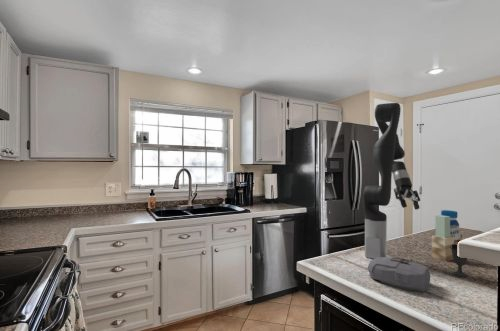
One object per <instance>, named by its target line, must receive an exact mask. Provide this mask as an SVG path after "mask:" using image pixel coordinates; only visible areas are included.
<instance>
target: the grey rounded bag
mask: <svg viewBox="0 0 500 331" xmlns="http://www.w3.org/2000/svg"><path fill="white" fill-rule="evenodd" d="M367 270H368V273H369V277H370V278H372V279H373V280H376V281H379V282H381V283H382V284H385V285H389V286H392V287H395V288H399V289H404V290H408V291H414V292H422V293H424V292H426V291H427V290H428V288H429V286H430V284H431V283H430V282H431V272H430V269H429V267H428V266H426V265H423V264H420V263H417V262H414V261H412V260H408V259H406V258H399V257H392V256H386V257H379V258H376V259H372V260H370V261H369V263H368V264H367Z"/></svg>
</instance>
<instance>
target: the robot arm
mask: <svg viewBox="0 0 500 331" xmlns="http://www.w3.org/2000/svg"><path fill="white" fill-rule="evenodd" d="M400 117H401V105H400V103H398V102H387V103H379V104H376V106H375V109H374V119H375V122H376V124H377V126H378V129H379V131H380V133H381V136H380V137H379V139H378V140H377V141H376V142H375V143H374V146H373V151H372V161H373V163H374V166H375V167H376V169H377V171H378V172H379V175H380V185H377V184H376V185H374V184H372V185H371V184H368V185H366V186H365V187H364V188H363V189H364V190H363V194H362V199H363V200H362V201H363V214H364V256H365V257H366V258H368V259H372V260H374V259H376V258H379V257H388V256H387V251H388V250H387V249H388V248H387V247H388V246H387V239H388V238H387V235H388V234H387V230H388V229H387V228H388V227H387V225H388V222H387V218H388V217H387V214H386V213H385V212H382V211H381V210H379V209H378V208H377V207H376V206H382V207H386V206H388V205H389V203H390V201H391V199H392V198H391V196H392V177H393V180H394V181H393V182H394V184H395V185H394V186H395V188H394V189H393V192H394V195H395V199H396V200H398V201H399V202H400V205H401V208H406V207H408V205H407V201H406V199H408V200H409V201H411V202H412V204H413V207H414V210H416V211H417V210H419V209H420V205H419V202H420V201H421V198H420V195H419V193H418V191H417V190H413V189H412V187H413V183H412V181H411V177H410V175H409V172H408V171H407V167H406V164H405V163H404V161H399V160H401V159H403V158H405V155H406V154H405V153H406V152H405V150H404V149H403V147H402V146H401V143H400V140H399V135H398V127H399V122H400ZM388 123H389V124H388Z"/></svg>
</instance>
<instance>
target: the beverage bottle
mask: <svg viewBox="0 0 500 331" xmlns="http://www.w3.org/2000/svg"><path fill="white" fill-rule="evenodd" d="M440 215H442V216H449V217H450V237H453V238H454V242H456V241H457V240H458V239H460V231H461V230H460V223H459V221H458V220H457V218H458V211H456V210H447V209H444V210H443V209H441V211H440Z"/></svg>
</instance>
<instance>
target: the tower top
mask: <svg viewBox="0 0 500 331" xmlns="http://www.w3.org/2000/svg"><path fill="white" fill-rule="evenodd" d="M453 244H454V238H453V237H449V238H442V237H437V236H436V234H435V235H431V248H432V247H436V248H440V249H443V250H449V249H451V248H450V246H451V245H453Z"/></svg>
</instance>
